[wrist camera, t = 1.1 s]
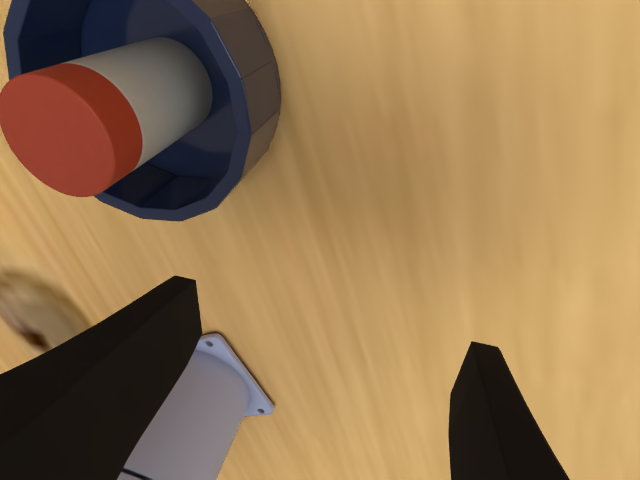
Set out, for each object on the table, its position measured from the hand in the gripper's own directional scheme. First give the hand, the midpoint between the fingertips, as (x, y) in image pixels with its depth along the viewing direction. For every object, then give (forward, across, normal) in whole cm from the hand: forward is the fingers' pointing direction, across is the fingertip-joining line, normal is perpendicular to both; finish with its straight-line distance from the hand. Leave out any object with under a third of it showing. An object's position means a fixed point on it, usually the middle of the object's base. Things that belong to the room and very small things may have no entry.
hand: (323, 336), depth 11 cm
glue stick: (+10, +10, -3) cm, 14 cm away
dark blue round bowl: (+10, +10, -3) cm, 14 cm away
